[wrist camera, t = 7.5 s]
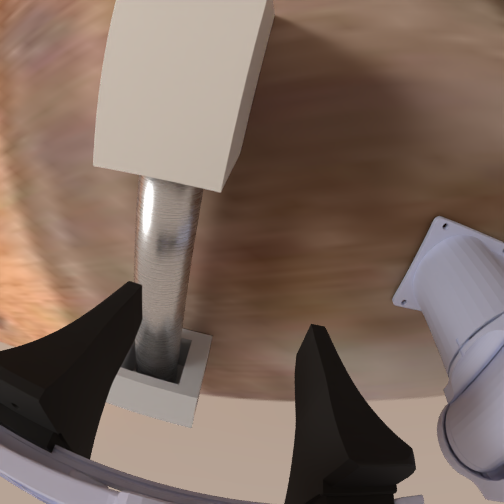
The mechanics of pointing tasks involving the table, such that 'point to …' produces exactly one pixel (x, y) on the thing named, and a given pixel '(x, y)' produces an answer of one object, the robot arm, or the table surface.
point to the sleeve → (179, 87)
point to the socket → (164, 384)
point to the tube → (163, 270)
